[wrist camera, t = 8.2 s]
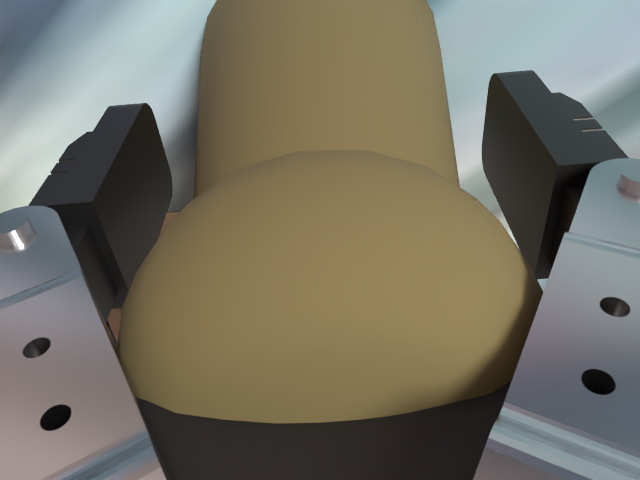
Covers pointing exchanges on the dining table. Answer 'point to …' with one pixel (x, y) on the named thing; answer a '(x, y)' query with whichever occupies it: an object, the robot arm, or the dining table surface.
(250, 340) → the khaki rounded elongated piece
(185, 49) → the dining table surface
